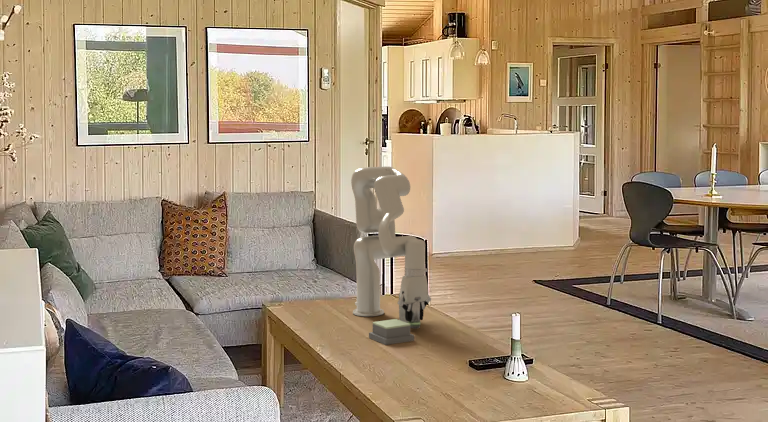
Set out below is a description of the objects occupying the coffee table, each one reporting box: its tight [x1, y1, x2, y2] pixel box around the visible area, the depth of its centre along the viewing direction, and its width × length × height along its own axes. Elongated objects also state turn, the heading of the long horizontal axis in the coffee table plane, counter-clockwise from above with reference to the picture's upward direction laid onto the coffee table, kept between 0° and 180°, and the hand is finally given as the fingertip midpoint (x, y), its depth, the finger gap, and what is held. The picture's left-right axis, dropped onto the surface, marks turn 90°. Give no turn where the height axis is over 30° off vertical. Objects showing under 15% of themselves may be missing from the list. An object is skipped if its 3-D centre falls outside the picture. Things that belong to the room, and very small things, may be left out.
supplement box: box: [398, 292, 408, 323], centre depth 377 cm, size 7×7×13 cm
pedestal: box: [368, 318, 415, 346], centre depth 354 cm, size 12×12×6 cm
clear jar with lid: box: [408, 297, 422, 330], centre depth 366 cm, size 5×5×12 cm
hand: (414, 319), depth 366 cm, fingers closed on clear jar with lid, 4 cm apart
